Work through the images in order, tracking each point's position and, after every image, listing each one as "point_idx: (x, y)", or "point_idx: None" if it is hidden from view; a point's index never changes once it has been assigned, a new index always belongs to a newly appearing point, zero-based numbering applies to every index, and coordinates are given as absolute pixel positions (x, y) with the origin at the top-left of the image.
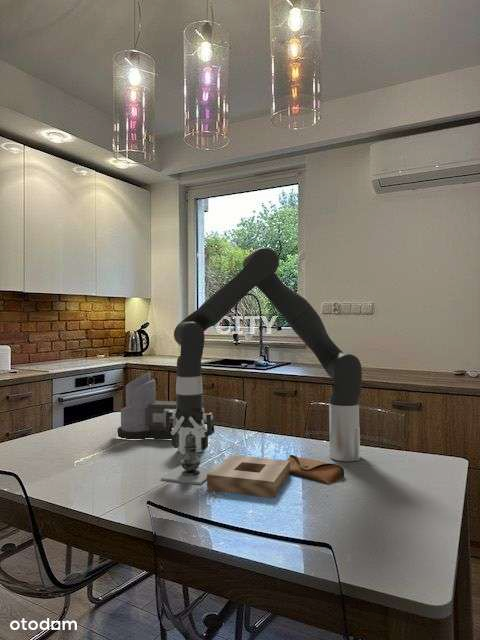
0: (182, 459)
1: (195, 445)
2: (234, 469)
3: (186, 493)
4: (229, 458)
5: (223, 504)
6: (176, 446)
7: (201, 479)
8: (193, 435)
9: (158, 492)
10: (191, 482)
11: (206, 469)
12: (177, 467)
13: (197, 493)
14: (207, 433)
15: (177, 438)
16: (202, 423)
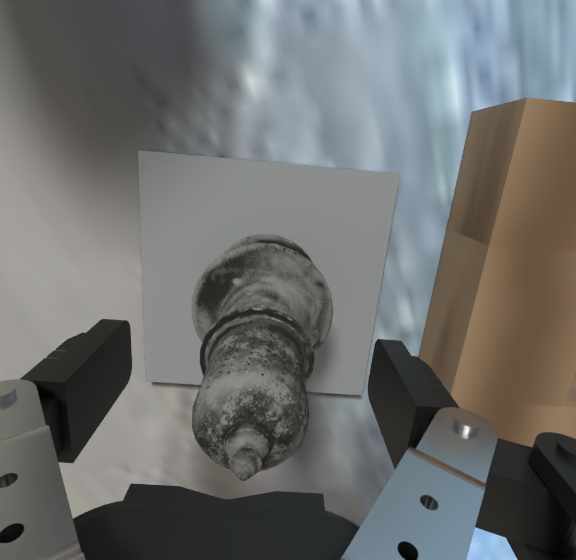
0: (200, 312)
1: (302, 360)
2: (567, 388)
3: (327, 479)
4: (525, 191)
5: (489, 532)
6: (126, 373)
7: (353, 359)
8: (290, 442)
9: (212, 492)
10: (311, 388)
11: (336, 204)
12: (144, 205)
13: (371, 471)
14: (510, 541)
15: (91, 393)
16: (466, 546)
